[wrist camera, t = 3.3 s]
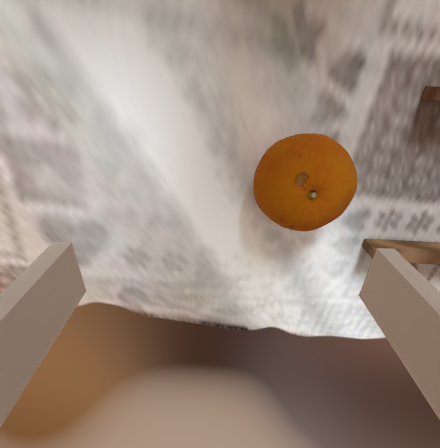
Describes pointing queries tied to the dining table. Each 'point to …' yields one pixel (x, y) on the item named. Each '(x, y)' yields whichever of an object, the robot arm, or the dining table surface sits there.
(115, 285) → the dining table surface
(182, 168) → the dining table surface
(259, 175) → the fruit
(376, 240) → the corral
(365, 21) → the dining table surface
